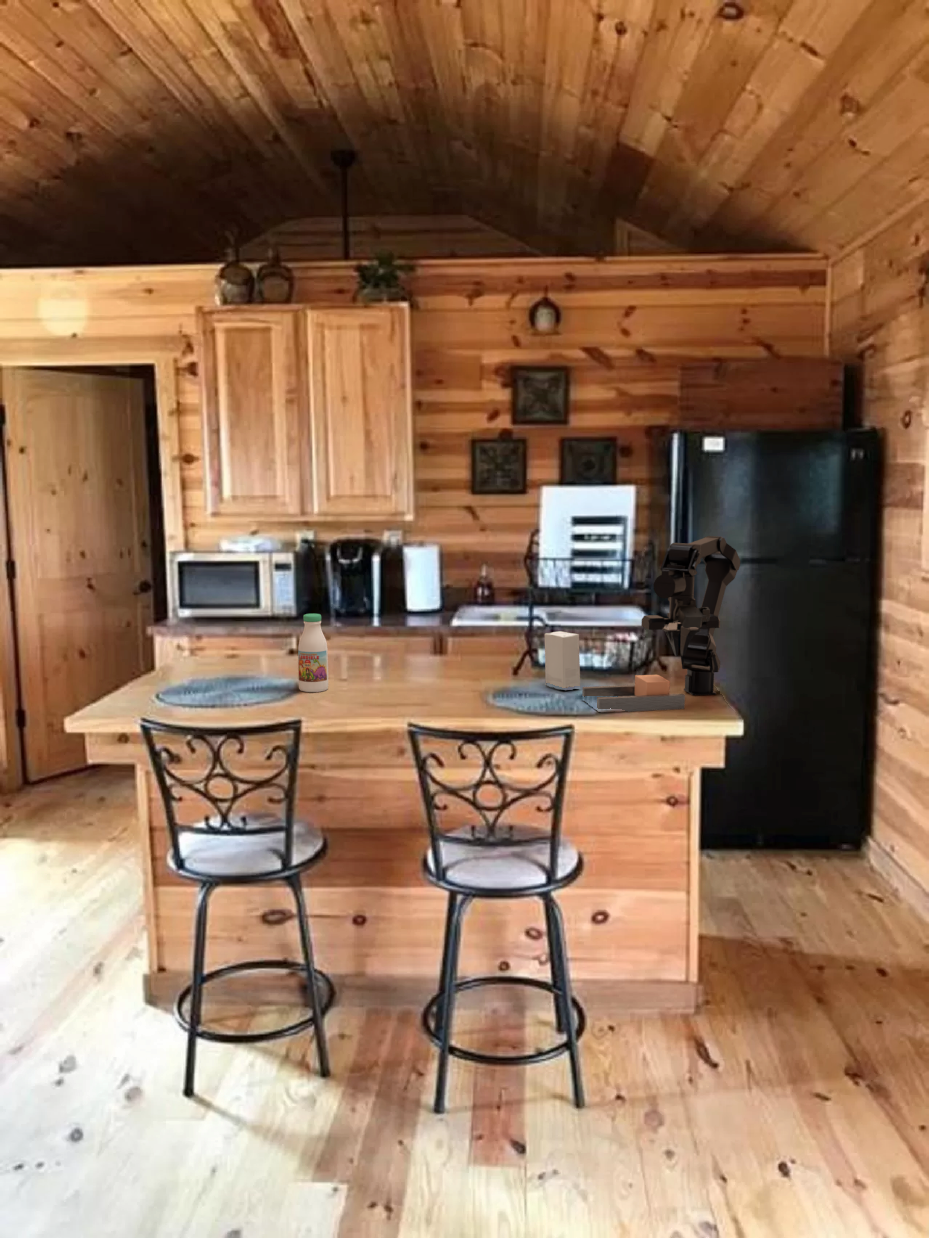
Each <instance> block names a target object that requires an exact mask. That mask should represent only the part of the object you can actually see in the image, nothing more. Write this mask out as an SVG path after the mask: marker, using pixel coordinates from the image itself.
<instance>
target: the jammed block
mask: <svg viewBox="0 0 929 1238" xmlns="http://www.w3.org/2000/svg"><path fill="white" fill-rule="evenodd" d="M634 685H635V695H636V696H640V695H663V694H670V688H671V681H670V680H668V679H666V678H664V677H663V676H661V675H659V674H643V675H642V674H640V675H639V674H638V675H634Z"/></svg>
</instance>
